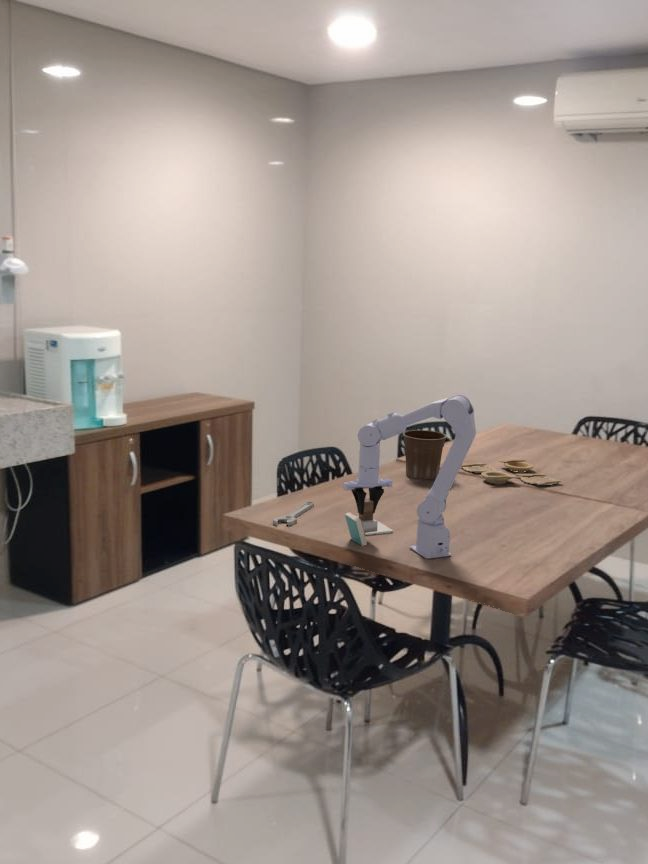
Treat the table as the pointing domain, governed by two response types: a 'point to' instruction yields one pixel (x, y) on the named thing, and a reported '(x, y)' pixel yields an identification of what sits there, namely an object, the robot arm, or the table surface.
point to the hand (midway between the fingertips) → (366, 512)
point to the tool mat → (380, 529)
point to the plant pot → (423, 453)
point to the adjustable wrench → (293, 514)
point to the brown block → (368, 517)
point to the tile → (355, 529)
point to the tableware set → (502, 478)
